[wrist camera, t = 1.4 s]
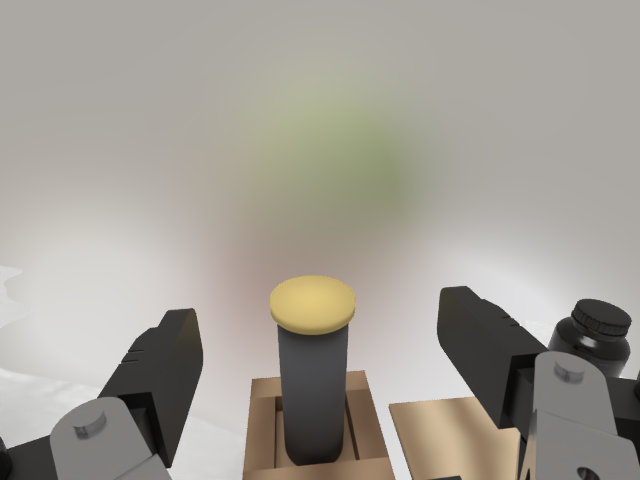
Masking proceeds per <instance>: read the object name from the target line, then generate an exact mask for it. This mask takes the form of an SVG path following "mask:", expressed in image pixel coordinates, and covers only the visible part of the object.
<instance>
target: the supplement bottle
mask: <svg viewBox="0 0 640 480" xmlns="http://www.w3.org/2000/svg"><path fill="white" fill-rule="evenodd" d="M631 322H632V320H631V318H630V316H629V315H628V314H627V313H626V312H624V310H622V309H620V308H619V307H616V306H614V305H612V304H610V303H607V302H604V301H600V300H595V299H582V300H579V301H578V302H577V304H576V306H575V308H574V310H573V311H572V313H571V317H567V318H564V319H562V320H561V321H559V322H558V323H557V325H556V327H555V329H554V332H553V334H552V337H551V340H550V342H549V345H548V347H547V349H549V350H550V351H556V352H563V353H568V354H571V355H574V356H577V357H580V358H582V359H584V360H586V361H588V362H589V363H591V364H592V365H594V366H595V367H596V368H598V369H599V370H600V371H601V372H602V374H603V375H604V376H607V377H615V378H619V376H620V374H621V372H622V370H623V368H624V366H625V364H626V362H627V360H628V358H629V355H630V346H629V344H628V342H627V340H626V339H625V337H626V335H627V333H628V329H629V327H630V325H631Z"/></svg>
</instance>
